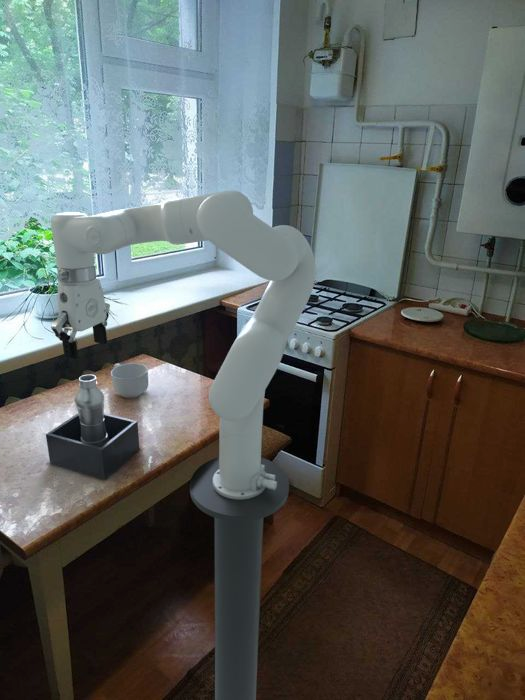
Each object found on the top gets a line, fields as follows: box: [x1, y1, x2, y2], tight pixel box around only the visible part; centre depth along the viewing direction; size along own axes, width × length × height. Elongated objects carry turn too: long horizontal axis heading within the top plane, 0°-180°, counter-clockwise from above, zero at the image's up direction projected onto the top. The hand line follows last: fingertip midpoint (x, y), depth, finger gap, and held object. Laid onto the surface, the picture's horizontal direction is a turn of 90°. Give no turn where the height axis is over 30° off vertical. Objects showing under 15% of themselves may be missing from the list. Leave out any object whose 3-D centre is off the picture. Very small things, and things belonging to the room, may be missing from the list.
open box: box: [45, 412, 140, 481], centre depth 118 cm, size 16×14×8 cm
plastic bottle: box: [74, 374, 109, 447], centre depth 116 cm, size 6×7×20 cm
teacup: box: [110, 362, 149, 399], centre depth 150 cm, size 14×11×8 cm
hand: (86, 350), depth 110 cm, fingers open, 9 cm apart
